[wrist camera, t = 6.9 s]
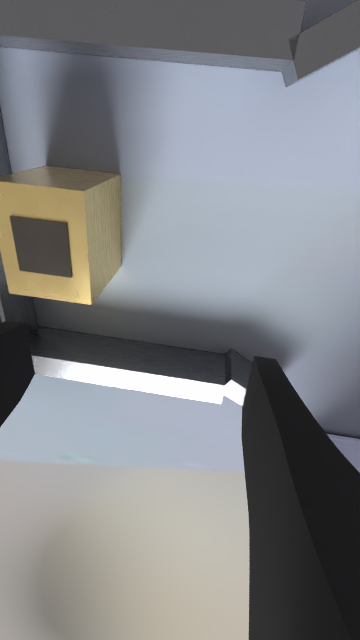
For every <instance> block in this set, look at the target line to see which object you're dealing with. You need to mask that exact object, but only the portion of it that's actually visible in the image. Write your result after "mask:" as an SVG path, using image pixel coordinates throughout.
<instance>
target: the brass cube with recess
mask: <svg viewBox="0 0 360 640" xmlns="http://www.w3.org/2000/svg"><path fill="white" fill-rule="evenodd" d="M0 252H1V256H2V261H3V266H4V271H5V275H6V280H7V285H8V290H9V293H11V294H18V295H25V296H32V297H39V298H46V299H53V300H60V301H67V302H74V303H81V304H88V305H92V304H93V302H94V301H95V300H96V298H97V297H98V296H99V294H100V293H101V292H102V291H103V289H104V288H105V287H106V285H107V284H108V283H109V281H110V280H111V279H112V278H113V276H114V275H115V274H116V272H117V271H118V270H119V268H120V267H121V266H122V248H121V174H114V173H106V172H97V171H88V170H79V169H70V168H61V167H53V166H42V167H38V168H34V169H29V170H25V171H21V172H16V173H12V174H8V175H3V176H0Z"/></svg>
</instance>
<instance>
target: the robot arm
mask: <svg viewBox="0 0 360 640" xmlns="http://www.w3.org/2000/svg"><path fill="white" fill-rule="evenodd" d="M34 374H35V371H34V366H33V361H32V356H31V351H30V346H29V341H28V336H27V331H26V326H25V323H19V322H12V321H5V322H2V323H0V427H1V425H2V424H3V423H4V422H5V420H6V419H7V417H8V416H9V415H10V413H11V412H12V411H13V409H14V408H15V407H16V405H17V404H18V403H19V401H20V400H21V398H22V396H23V395H24V393H25V391H26V389H27V388H28V386H29V384H30V382H31V380H32V378H33V376H34ZM242 446H243V457H244V468H245V478H246V490H247V499H248V511H249V529H250V530H249V531H250V585H249V591H250V592H249V596H250V597H249V640H360V439H356V438H350V437H343V436H337V435H331V434H326V433H325V432H324V430H323V429H322V428H321V426H320V425H319V424H318V422H317V421H316V420H315V418H314V417H313V415H312V414H311V413H310V411H309V410H308V408H307V407H306V406H305V404H304V403H303V401H302V400H301V398H300V397H299V395H298V394H297V392H296V391H295V389H294V388H293V386H292V385H291V383H290V382H289V380H288V378H287V377H286V375H285V374H284V372H283V370H282V369H281V367H280V365H279V364H278V362H277V361H276V360H275V359H270V358H263V357H256V356H254V360H253V364H252V369H251V373H250V377H249V381H248V385H247V389H246V393H245V397H244V402H243V406H242Z"/></svg>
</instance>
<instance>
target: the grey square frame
mask: <svg viewBox="0 0 360 640" xmlns="http://www.w3.org/2000/svg"><path fill="white" fill-rule="evenodd" d="M306 2H307V1H303V0H0V47H6V48H18V49H29V50H40V51H52V52H63V53H74V54H86V55H97V56H108V57H120V58H131V59H142V60H154V61H165V62H177V63H188V64H199V65H211V66H222V67H233V68H245V69H256V70H267V71H279V72H282V74H283V78H284V82H285V86H286V87H288V86H290V85H292V84H294V83H295V82H297V81H299V80H301V79H303V78H305V77H307V76H309V75H311V74H312V73H314V72H316V71H318V70H320V69H322V68H324V67H326V66H328V65H329V64H331V63H333V62H335V61H337V60H339V59H341V58H343V57H345V56H346V55H348V54H350V53H352V52H354V51H356V50H358V49H360V0H357V1H355V2H353V3H352V4H350V5H348V6H346V7H345V8H343V9H341V10H339V11H338V12H336V13H334V14H332V15H331V16H329V17H327V18H326V19H324V20H322V21H320V22H319V23H317V24H315V25H313V26H312V27H310V28H308V29H306V30H305V31H303V32H301V33H300V31H301V26H302V21H303V16H304V12H305V7H306ZM8 174H11V169H10V163H9V157H8V151H7V145H6V139H5V134H4V128H3V122H2V116H1V110H0V176H3V175H8ZM5 321H12V322H19V323H25V326H26V331H27V336H28V341H29V346H30V351H31V356H32V361H33V366H34V371H35V374H38V375H44V376H50V377H56V378H62V379H69V380H75V381H81V382H87V383H94V384H100V385H106V386H112V387H118V388H125V389H131V390H137V391H143V392H150V393H156V394H162V395H168V396H174V397H181V398H187V399H193V400H199V401H205V402H212V403H218V404H221V403H222V399H223V395H225V396H226V397H228V398H230V399H231V400H233V401H234V402H236V403H237V404H239V405H241V406H243V402H244V397H245V393H246V389H247V385H248V381H249V377H250V373H251V369H252V364H253V363H251V362H250V361H248V360H247V359H245V358H244V357H242V356H241V355H240V354H238V353H237V352H235V351H234V350H232V349H231V350H230V351H229V352H228V353H227V354H226V355H225V354H218V353H211V352H205V351H198V350H191V349H185V348H178V347H171V346H165V345H158V344H151V343H145V342H138V341H131V340H125V339H118V338H111V337H105V336H98V335H91V334H85V333H78V332H71V331H65V330H58V329H51V328H45V327H38V326H37V320H36V314H35V309H34V303H33V297H32V296H25V295H18V294H11V293H9V290H8V285H7V280H6V275H5V271H4V266H3V261H2V256H1V252H0V323H2V322H5Z"/></svg>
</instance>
